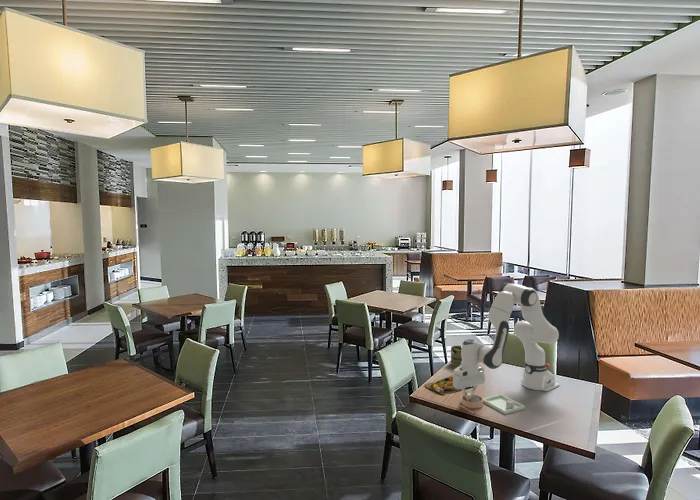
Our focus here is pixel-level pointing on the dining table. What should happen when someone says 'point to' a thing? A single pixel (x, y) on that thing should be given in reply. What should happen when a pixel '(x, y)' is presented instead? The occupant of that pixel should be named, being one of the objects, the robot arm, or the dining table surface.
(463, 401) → the bowl
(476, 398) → the pebble slate
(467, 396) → the pebble sand
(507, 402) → the pebble grey
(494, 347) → the robot arm
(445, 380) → the prepared meal
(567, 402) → the dining table surface
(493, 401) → the parts tray
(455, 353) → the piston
